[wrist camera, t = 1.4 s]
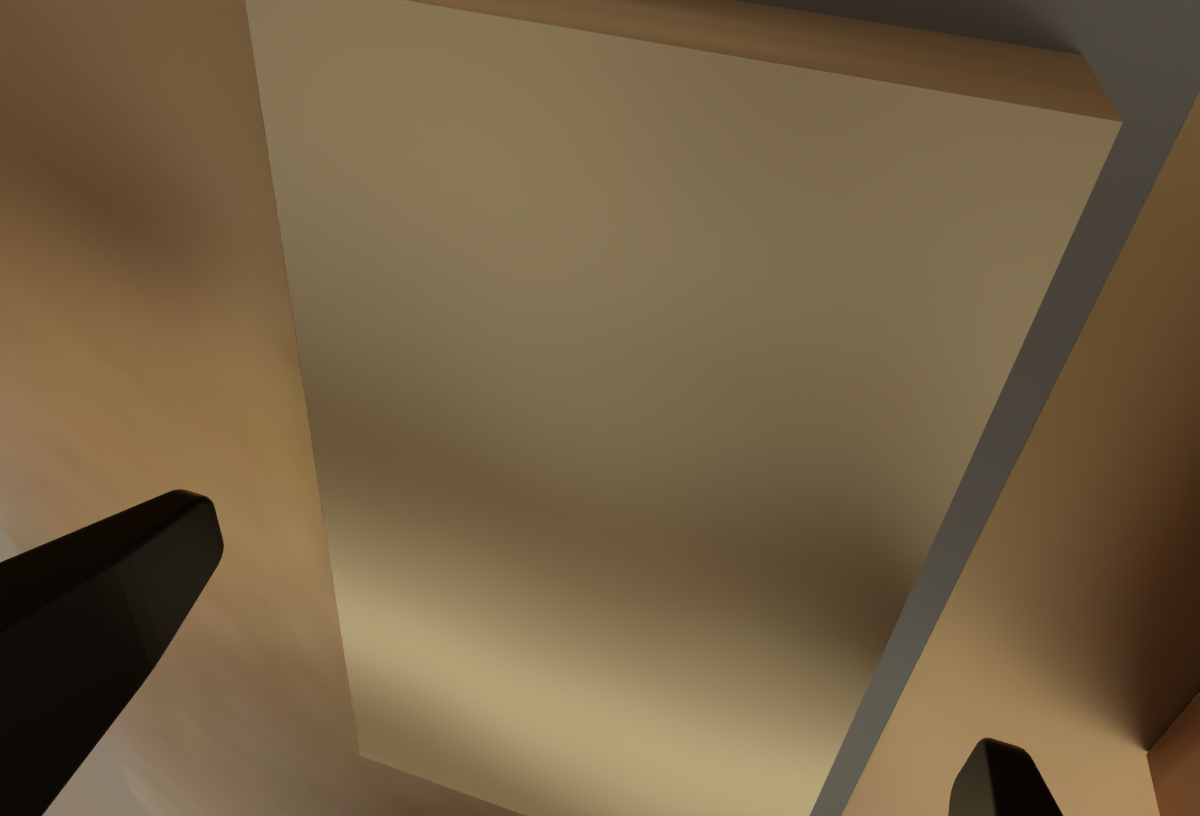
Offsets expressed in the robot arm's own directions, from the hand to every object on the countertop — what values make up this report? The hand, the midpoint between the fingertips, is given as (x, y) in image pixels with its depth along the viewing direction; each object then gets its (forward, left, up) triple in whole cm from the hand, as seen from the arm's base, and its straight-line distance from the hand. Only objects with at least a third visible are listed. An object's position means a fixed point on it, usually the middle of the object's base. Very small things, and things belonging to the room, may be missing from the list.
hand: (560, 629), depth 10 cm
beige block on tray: (0, 0, -3) cm, 3 cm away
